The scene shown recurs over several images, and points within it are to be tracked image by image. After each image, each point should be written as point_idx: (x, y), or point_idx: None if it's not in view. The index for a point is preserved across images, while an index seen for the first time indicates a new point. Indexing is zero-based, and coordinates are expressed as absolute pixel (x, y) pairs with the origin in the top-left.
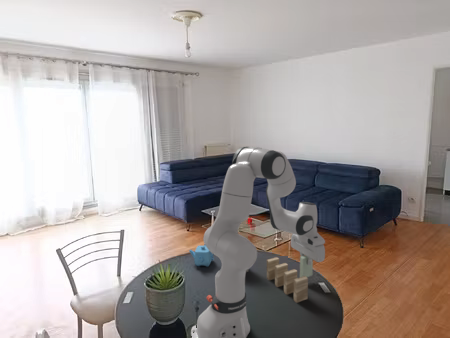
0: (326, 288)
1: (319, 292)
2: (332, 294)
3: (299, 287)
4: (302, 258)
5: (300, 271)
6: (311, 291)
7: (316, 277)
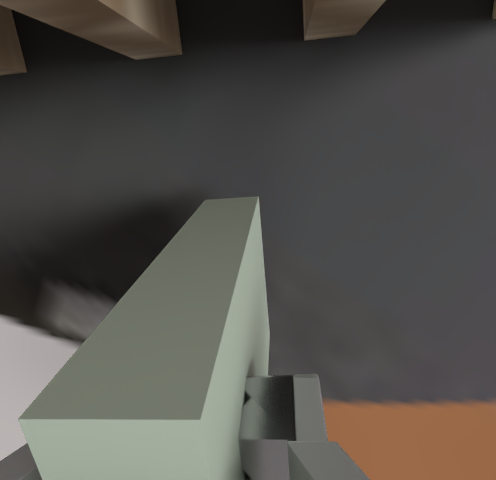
0: None
1: (59, 245)
2: (11, 314)
3: None
4: (45, 414)
5: (235, 218)
6: (91, 192)
7: (275, 370)
